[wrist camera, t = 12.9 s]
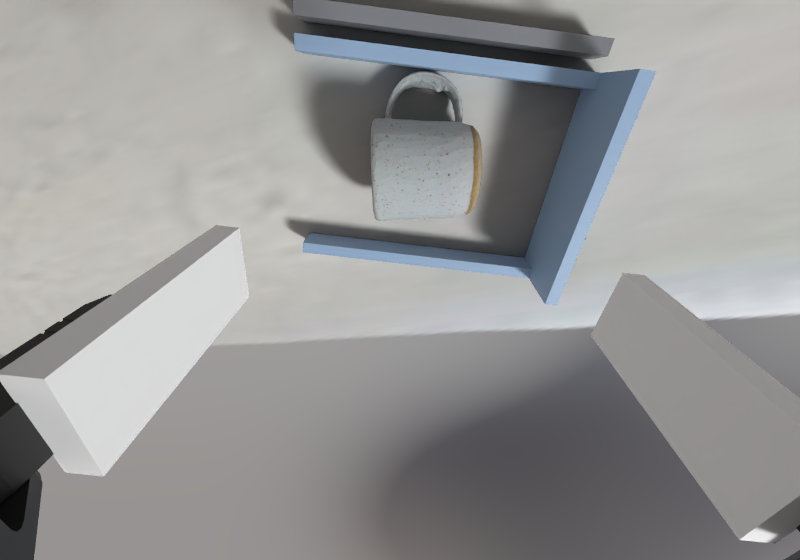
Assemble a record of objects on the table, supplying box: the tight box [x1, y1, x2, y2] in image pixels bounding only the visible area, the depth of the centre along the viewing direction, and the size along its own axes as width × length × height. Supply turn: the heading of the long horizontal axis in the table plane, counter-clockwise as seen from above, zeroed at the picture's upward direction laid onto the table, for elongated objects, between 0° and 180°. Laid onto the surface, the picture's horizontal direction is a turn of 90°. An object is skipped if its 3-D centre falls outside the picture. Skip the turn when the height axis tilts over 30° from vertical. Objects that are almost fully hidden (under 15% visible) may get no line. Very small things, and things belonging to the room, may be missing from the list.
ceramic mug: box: [371, 72, 482, 221], centre depth 25 cm, size 11×8×8 cm
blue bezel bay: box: [294, 33, 656, 305], centre depth 26 cm, size 23×17×7 cm
